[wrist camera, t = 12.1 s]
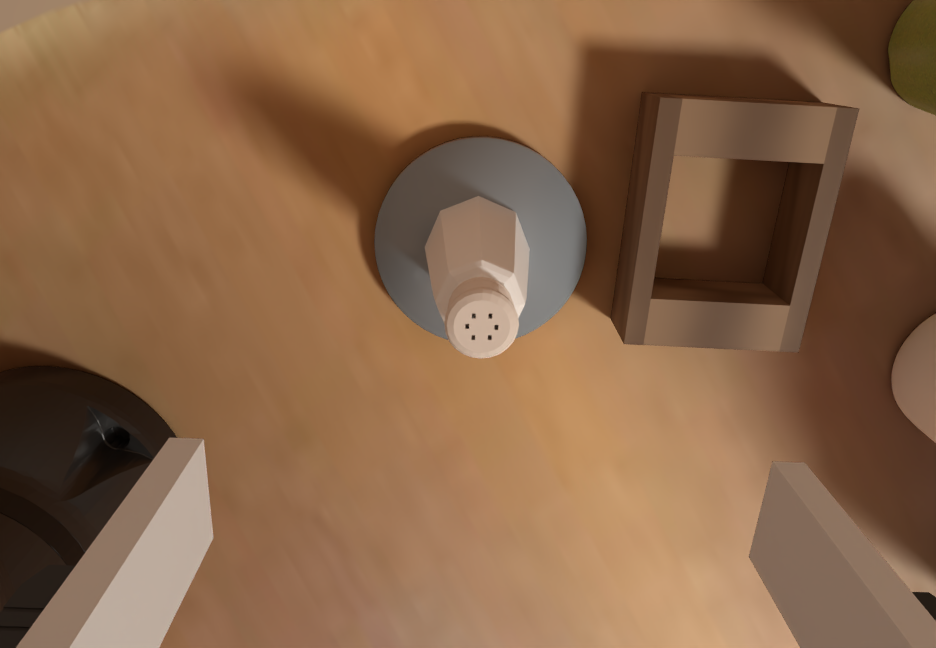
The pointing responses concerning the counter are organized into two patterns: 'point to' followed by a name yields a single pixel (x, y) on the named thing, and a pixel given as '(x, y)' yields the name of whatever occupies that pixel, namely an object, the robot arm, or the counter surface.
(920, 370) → the mug
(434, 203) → the grey plate
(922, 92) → the plant pot
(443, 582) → the counter surface
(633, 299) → the pocket block
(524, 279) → the salt shaker
